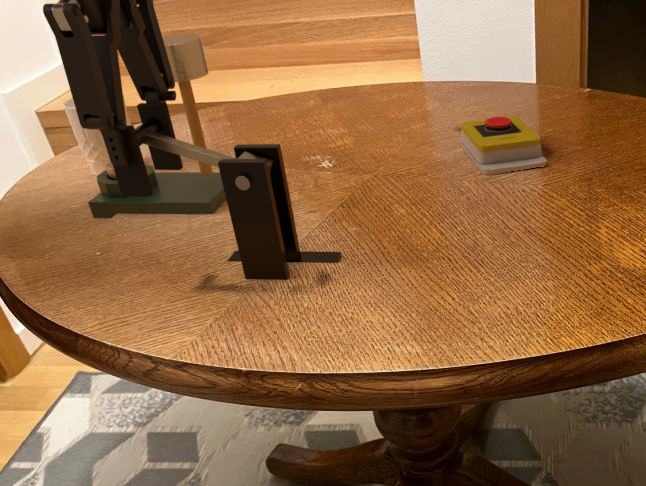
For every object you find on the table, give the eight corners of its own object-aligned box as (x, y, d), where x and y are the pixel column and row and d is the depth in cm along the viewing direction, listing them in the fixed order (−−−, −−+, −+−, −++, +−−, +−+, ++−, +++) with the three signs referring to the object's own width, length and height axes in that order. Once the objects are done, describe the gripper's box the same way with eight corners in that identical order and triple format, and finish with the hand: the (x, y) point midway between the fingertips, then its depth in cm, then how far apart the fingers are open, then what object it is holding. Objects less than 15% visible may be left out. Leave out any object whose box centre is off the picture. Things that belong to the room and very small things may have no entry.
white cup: (85, 166, 108) (61, 97, 103) (140, 155, 111) (120, 88, 106) (89, 183, 103) (64, 111, 97) (147, 171, 105) (126, 101, 100)
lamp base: (90, 218, 92) (79, 188, 90) (128, 187, 101) (119, 159, 98) (214, 219, 90) (206, 188, 88) (242, 187, 99) (236, 159, 96)
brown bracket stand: (205, 301, 74) (168, 170, 66) (237, 259, 81) (207, 137, 73) (320, 304, 72) (297, 170, 65) (342, 261, 80) (324, 136, 72)
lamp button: (103, 182, 93) (99, 168, 92) (119, 170, 96) (115, 157, 95) (133, 182, 92) (129, 168, 91) (148, 170, 95) (144, 157, 94)
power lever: (117, 155, 67) (117, 131, 66) (147, 134, 72) (148, 111, 71) (255, 199, 68) (258, 176, 67) (275, 175, 73) (279, 153, 72)
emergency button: (515, 104, 110) (550, 135, 98) (515, 133, 112) (549, 166, 100) (455, 111, 108) (483, 143, 96) (456, 140, 110) (483, 175, 98)
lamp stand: (174, 182, 90) (136, 46, 81) (194, 164, 95) (160, 34, 86) (220, 182, 90) (187, 44, 81) (238, 164, 95) (208, 33, 86)
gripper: (52, -84, 50) (145, 223, 64) (172, -102, 66) (226, 148, 79) (-48, -81, 51) (64, 222, 64) (94, -100, 67) (161, 147, 80)
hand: (153, 180), depth 72 cm, fingers closed on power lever, 6 cm apart
